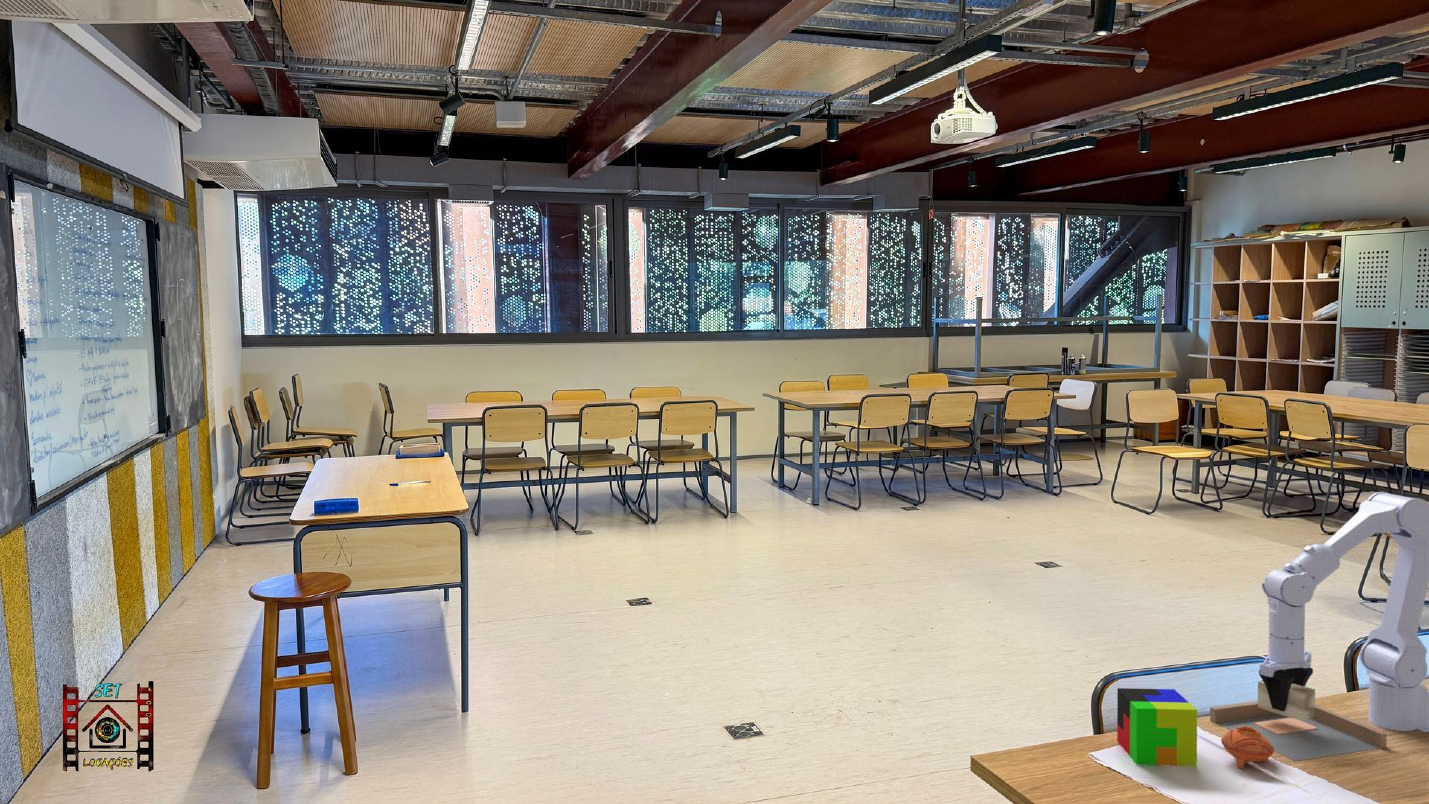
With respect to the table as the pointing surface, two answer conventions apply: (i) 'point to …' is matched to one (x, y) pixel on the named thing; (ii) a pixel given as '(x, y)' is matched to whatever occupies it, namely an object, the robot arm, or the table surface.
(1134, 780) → the table surface
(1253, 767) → the table surface
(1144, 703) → the puzzle toy
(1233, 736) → the pot
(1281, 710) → the robot arm
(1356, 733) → the tray
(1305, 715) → the birch block
